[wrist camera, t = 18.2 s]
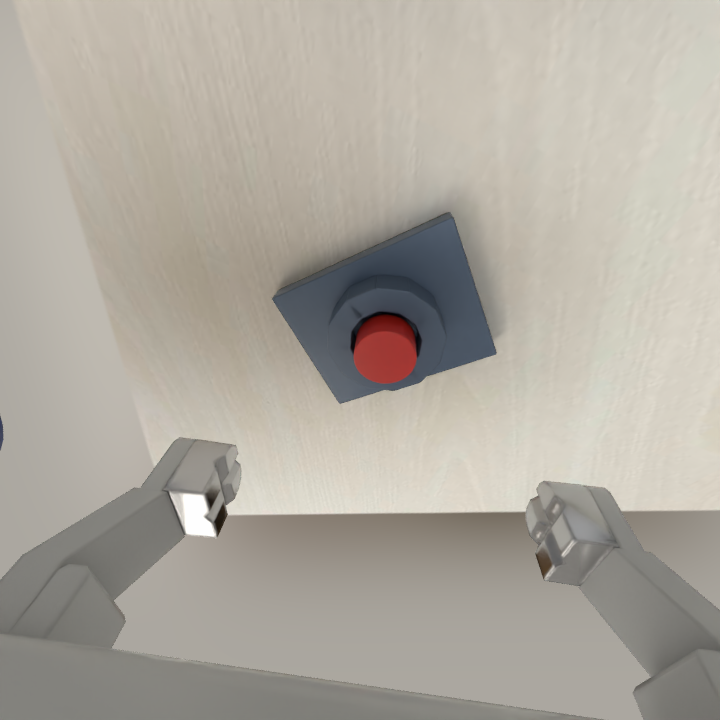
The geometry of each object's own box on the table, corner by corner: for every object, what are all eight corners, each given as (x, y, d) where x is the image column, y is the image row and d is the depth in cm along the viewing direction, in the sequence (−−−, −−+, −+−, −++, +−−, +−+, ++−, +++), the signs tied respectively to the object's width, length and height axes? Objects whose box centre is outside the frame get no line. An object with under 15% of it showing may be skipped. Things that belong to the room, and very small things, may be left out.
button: (371, 371, 19) (369, 391, 18) (346, 326, 18) (342, 344, 16) (423, 353, 18) (426, 373, 17) (401, 305, 17) (402, 321, 15)
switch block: (341, 392, 24) (335, 424, 21) (277, 290, 20) (260, 313, 17) (492, 343, 21) (505, 373, 18) (449, 211, 17) (459, 226, 14)
